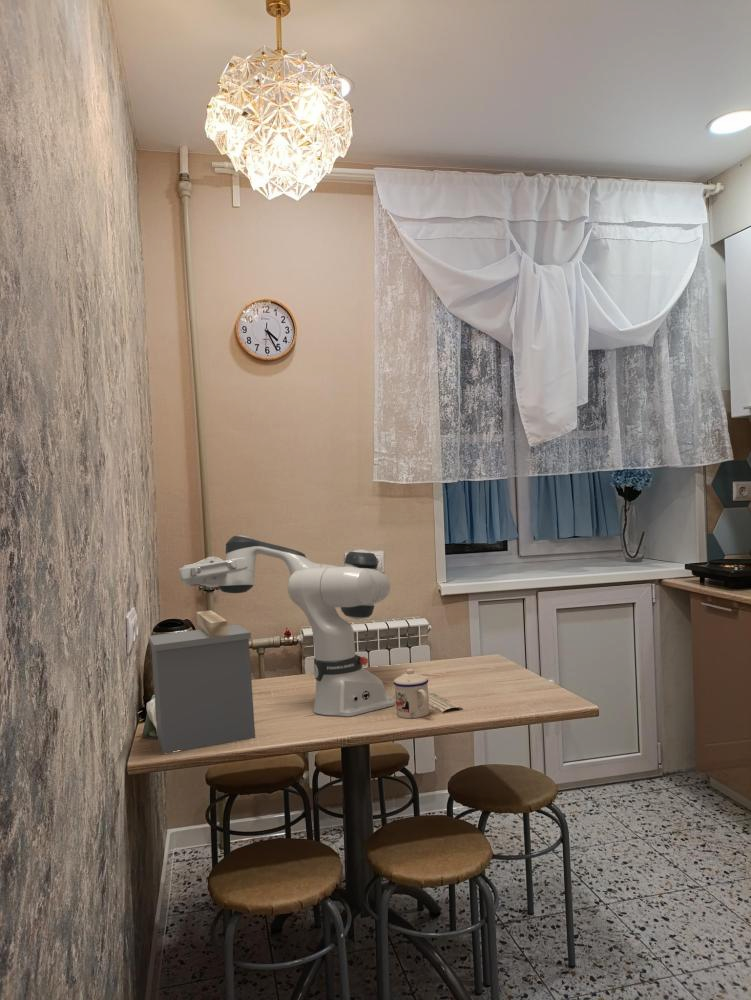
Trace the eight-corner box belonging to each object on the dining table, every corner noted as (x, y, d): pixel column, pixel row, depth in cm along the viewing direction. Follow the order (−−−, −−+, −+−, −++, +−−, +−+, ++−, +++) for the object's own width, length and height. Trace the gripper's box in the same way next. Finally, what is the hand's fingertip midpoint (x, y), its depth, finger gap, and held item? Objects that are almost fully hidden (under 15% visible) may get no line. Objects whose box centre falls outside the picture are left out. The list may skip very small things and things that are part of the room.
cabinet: (245, 722, 195) (238, 624, 195) (257, 737, 181) (250, 632, 181) (155, 738, 186) (148, 636, 187) (161, 755, 173) (153, 645, 173)
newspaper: (408, 695, 213) (407, 689, 213) (430, 692, 216) (429, 686, 216) (442, 716, 191) (442, 709, 191) (467, 711, 193) (466, 705, 193)
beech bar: (212, 623, 201) (211, 610, 202) (228, 635, 179) (227, 621, 179) (197, 624, 200) (196, 612, 200) (211, 637, 178) (210, 623, 178)
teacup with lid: (389, 713, 194) (386, 669, 194) (419, 706, 199) (416, 663, 199) (412, 723, 184) (409, 677, 184) (443, 716, 188) (439, 671, 188)
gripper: (247, 574, 231) (251, 571, 218) (181, 587, 226) (181, 584, 213) (244, 555, 232) (247, 550, 219) (178, 567, 227) (177, 562, 213)
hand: (214, 566), depth 216 cm, fingers open, 8 cm apart
